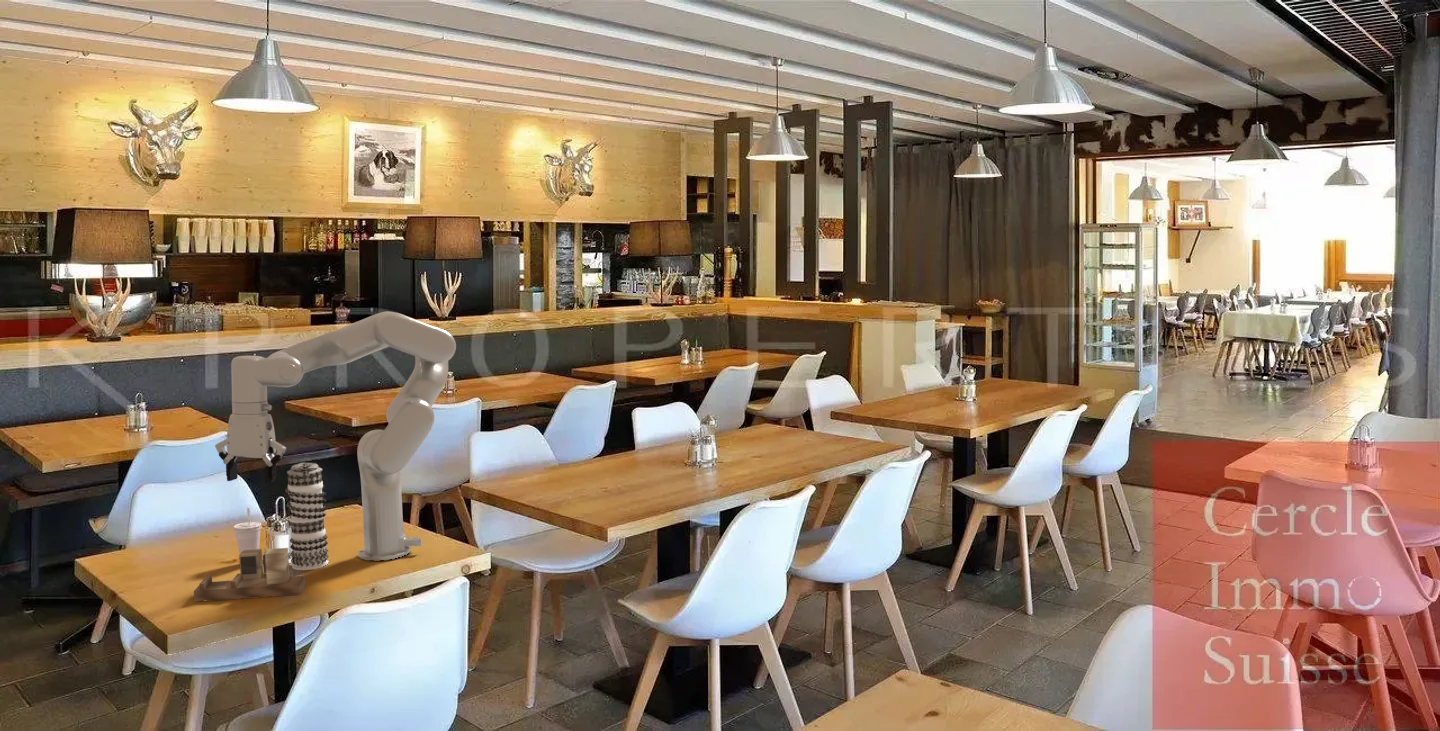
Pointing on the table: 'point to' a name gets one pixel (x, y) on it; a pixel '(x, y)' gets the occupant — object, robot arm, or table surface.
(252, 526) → the smoothie
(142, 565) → the table surface
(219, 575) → the table surface
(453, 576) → the table surface
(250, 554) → the beige boxy piece
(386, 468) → the robot arm
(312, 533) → the decorative candle
